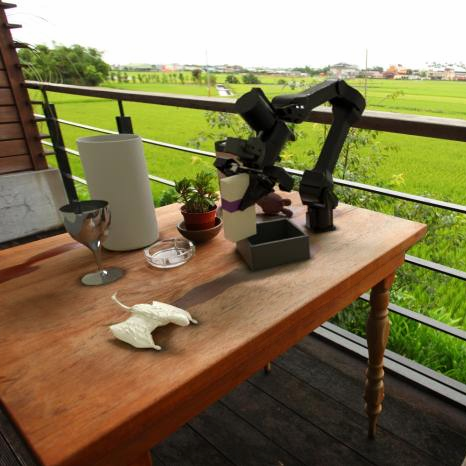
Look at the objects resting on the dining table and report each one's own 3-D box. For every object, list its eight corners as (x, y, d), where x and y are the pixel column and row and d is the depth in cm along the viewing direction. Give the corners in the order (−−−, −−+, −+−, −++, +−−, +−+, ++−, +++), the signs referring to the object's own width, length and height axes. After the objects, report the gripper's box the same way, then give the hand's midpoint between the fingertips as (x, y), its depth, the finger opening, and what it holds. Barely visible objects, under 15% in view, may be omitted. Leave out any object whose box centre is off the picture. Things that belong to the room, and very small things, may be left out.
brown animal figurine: (240, 193, 112) (283, 205, 107) (255, 182, 117) (297, 192, 112) (244, 213, 116) (286, 225, 111) (259, 201, 122) (300, 212, 116)
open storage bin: (288, 238, 98) (287, 217, 96) (309, 257, 88) (309, 235, 86) (236, 248, 92) (234, 226, 90) (252, 270, 82) (250, 247, 80)
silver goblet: (127, 265, 83) (112, 198, 78) (121, 282, 77) (104, 210, 71) (84, 270, 81) (65, 202, 75) (74, 289, 74) (53, 214, 68)
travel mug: (240, 201, 126) (234, 139, 119) (251, 207, 121) (245, 142, 113) (217, 205, 122) (209, 141, 114) (227, 212, 116) (220, 144, 109)
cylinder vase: (101, 256, 87) (72, 143, 78) (103, 237, 97) (78, 135, 88) (162, 246, 93) (142, 140, 83) (158, 229, 103) (140, 132, 94)
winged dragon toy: (83, 328, 63) (76, 306, 61) (138, 298, 71) (133, 278, 70) (164, 360, 56) (159, 336, 54) (214, 322, 64) (211, 301, 63)
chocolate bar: (224, 238, 81) (219, 179, 75) (247, 228, 85) (244, 172, 79) (233, 243, 79) (229, 183, 73) (256, 233, 84) (254, 176, 78)
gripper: (214, 117, 80) (175, 180, 76) (280, 124, 71) (240, 196, 67) (246, 149, 90) (213, 207, 85) (309, 159, 80) (275, 225, 76)
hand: (233, 208), depth 78 cm, fingers closed on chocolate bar, 3 cm apart
